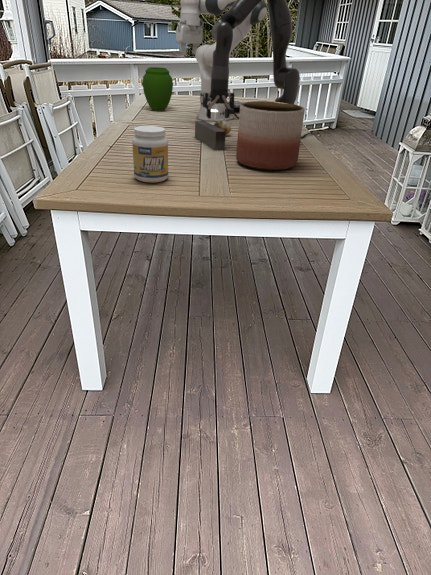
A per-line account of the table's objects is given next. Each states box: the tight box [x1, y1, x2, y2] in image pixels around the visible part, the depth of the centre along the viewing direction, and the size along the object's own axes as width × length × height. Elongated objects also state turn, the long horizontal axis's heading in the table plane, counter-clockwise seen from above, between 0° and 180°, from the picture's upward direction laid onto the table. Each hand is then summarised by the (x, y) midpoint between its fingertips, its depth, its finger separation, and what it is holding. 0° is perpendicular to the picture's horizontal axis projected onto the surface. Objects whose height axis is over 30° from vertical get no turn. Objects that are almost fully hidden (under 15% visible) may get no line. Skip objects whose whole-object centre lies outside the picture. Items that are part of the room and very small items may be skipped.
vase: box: [141, 66, 174, 112], centre depth 261 cm, size 20×20×24 cm
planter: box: [235, 100, 306, 171], centre depth 164 cm, size 25×25×22 cm
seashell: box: [213, 119, 232, 136], centre depth 209 cm, size 10×6×8 cm, turn 97°
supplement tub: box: [131, 125, 169, 183], centre depth 142 cm, size 12×12×17 cm
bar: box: [194, 120, 226, 151], centre depth 194 cm, size 26×5×8 cm, turn 24°
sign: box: [227, 100, 244, 114], centre depth 286 cm, size 19×3×30 cm
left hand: (189, 54), depth 205 cm, fingers open, 8 cm apart
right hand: (217, 118), depth 183 cm, fingers open, 8 cm apart
